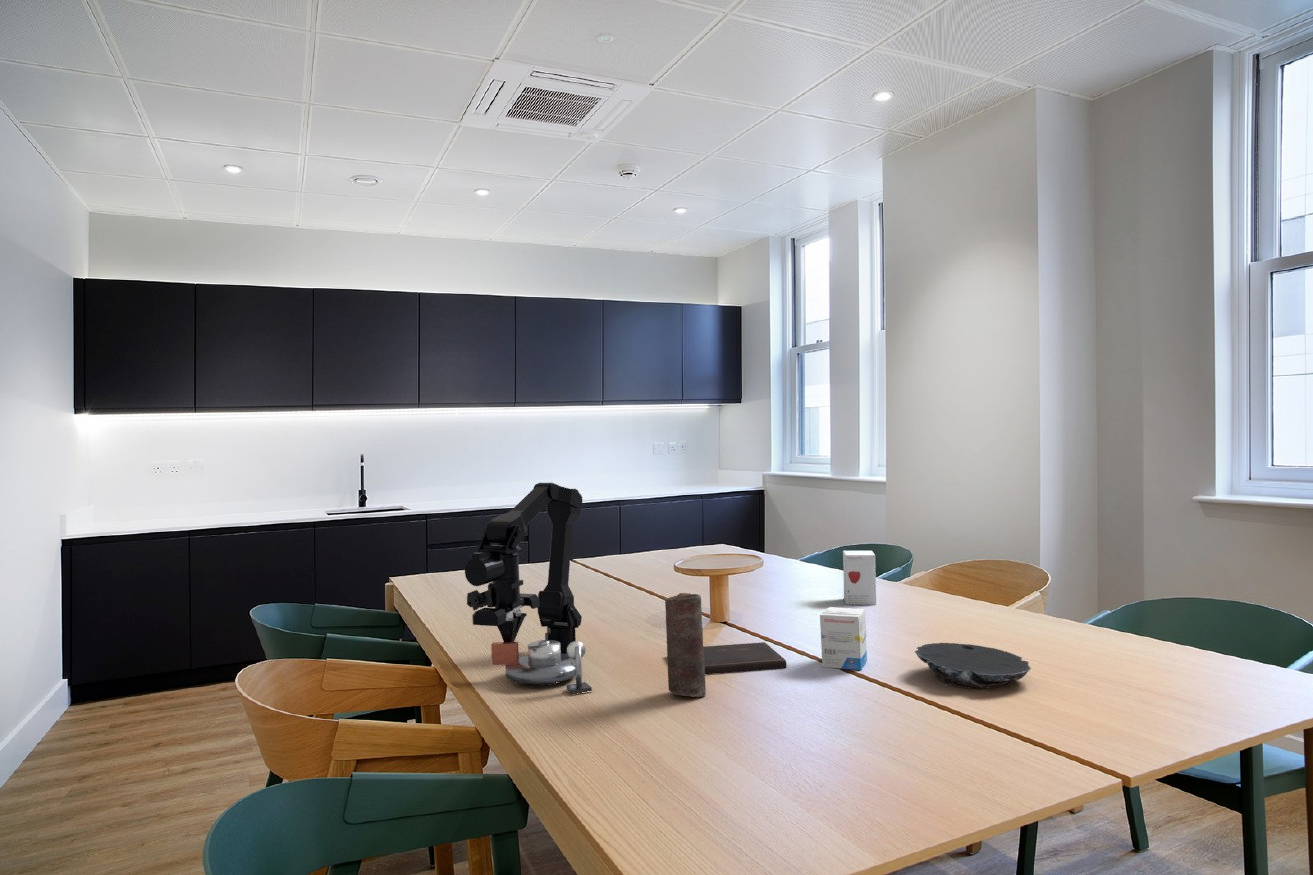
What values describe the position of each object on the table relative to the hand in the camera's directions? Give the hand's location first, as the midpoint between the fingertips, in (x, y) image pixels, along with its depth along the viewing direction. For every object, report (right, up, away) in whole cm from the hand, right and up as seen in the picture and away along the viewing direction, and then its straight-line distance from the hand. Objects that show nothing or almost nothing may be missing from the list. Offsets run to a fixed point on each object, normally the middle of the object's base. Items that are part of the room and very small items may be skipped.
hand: (508, 648), depth 173 cm
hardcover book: (+48, -6, +6) cm, 49 cm away
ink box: (+74, -4, +2) cm, 74 cm away
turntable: (+8, -5, -2) cm, 9 cm away
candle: (+38, -5, -16) cm, 42 cm away
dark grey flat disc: (+97, -4, -11) cm, 98 cm away
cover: (+8, -3, -2) cm, 9 cm away
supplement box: (+94, -4, +66) cm, 114 cm away
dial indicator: (+16, -6, -11) cm, 20 cm away
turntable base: (+8, -6, -2) cm, 10 cm away
